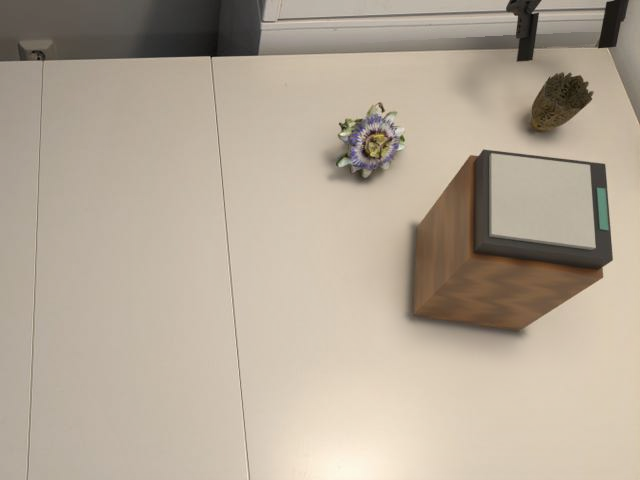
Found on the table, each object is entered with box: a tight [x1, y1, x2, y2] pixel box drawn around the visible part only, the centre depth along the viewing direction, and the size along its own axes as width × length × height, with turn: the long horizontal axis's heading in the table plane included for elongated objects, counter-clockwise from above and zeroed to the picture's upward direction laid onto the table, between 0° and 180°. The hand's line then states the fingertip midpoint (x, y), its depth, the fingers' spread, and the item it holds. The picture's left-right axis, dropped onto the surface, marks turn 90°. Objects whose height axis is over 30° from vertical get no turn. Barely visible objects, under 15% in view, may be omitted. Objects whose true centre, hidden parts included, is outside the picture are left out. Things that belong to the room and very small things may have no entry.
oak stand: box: [412, 154, 604, 332], centre depth 80 cm, size 16×16×18 cm
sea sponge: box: [529, 71, 595, 132], centre depth 93 cm, size 8×7×8 cm
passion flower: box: [334, 101, 407, 179], centre depth 93 cm, size 11×11×12 cm
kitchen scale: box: [474, 148, 614, 270], centre depth 70 cm, size 15×14×3 cm
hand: (565, 54), depth 89 cm, fingers open, 13 cm apart
